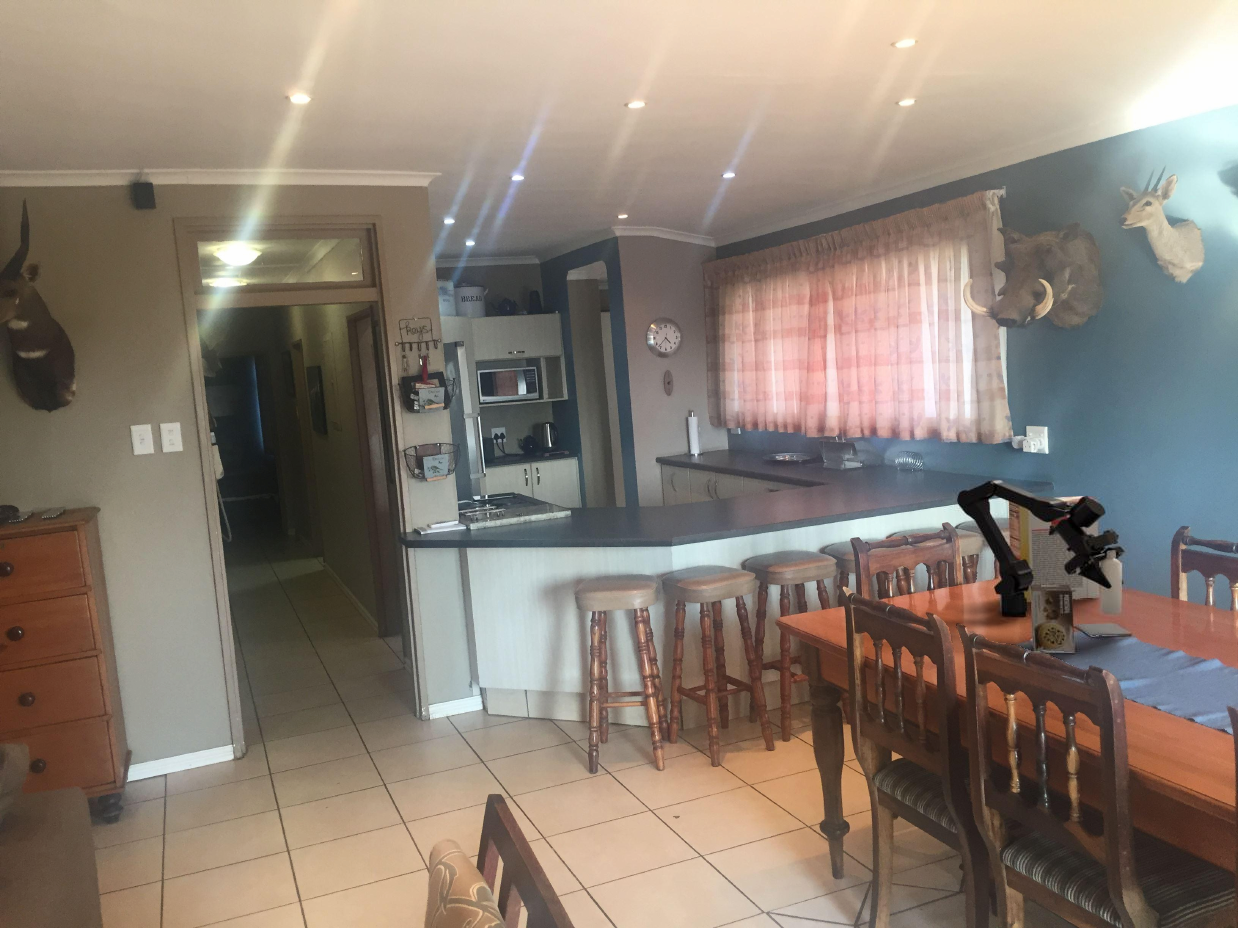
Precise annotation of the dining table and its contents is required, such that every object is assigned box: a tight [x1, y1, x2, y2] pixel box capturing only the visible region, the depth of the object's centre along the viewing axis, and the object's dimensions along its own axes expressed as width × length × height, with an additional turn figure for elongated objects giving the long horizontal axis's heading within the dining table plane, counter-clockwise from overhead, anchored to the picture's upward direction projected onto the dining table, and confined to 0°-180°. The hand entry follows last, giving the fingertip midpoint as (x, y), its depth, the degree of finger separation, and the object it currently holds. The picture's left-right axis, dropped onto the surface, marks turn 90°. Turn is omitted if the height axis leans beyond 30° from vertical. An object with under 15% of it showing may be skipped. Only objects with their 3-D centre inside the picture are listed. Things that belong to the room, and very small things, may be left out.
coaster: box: [1074, 622, 1133, 637], centre depth 237 cm, size 10×10×1 cm
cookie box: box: [1030, 585, 1076, 654], centre depth 224 cm, size 9×6×16 cm
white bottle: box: [1100, 550, 1123, 615], centre depth 234 cm, size 5×5×16 cm
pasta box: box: [1008, 495, 1100, 603], centre depth 273 cm, size 23×8×30 cm, turn 88°
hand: (1116, 586), depth 233 cm, fingers closed on white bottle, 5 cm apart
